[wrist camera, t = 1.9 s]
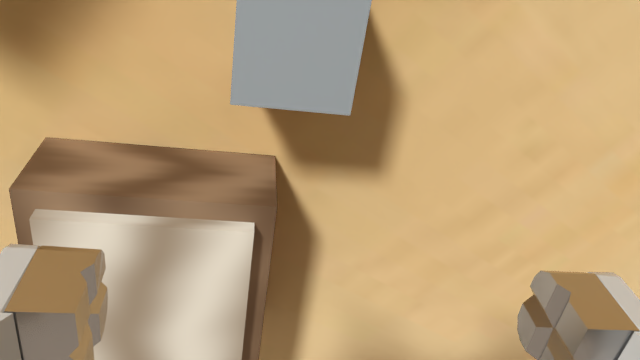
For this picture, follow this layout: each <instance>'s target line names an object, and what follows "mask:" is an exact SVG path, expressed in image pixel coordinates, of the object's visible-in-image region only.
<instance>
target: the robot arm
mask: <svg viewBox="0 0 640 360" xmlns="http://www.w3.org/2000/svg"><path fill="white" fill-rule="evenodd" d="M105 269H106V264H105V255H104V252H103V251H102V250H101V249H87V248H72V247H58V246H43V245H42V246H38V245H22V244H9V245H8V246H6V247H5V248H4V249H3V250H2V251H1V253H0V360H94V350H93V347H94V346H95V345H96V344H97V343H99V342H100V341H101V339H102V335H103V332H104V328H105V323H106V316H107V308H108V291H107V287H106V286H105V285H104V284H103V283H102V282H101V281H102V278H103V275H104V272H105ZM530 287H531V289H532V292H533V294H534V295H533V296H532V297H530V298H529V299H528V300H526V301H525V302H524V303H523V304H522V306H521V309H520V312H519V314H518V328H517V330H518V334H519V338H520V341H521V343H522V345H523V347H524V349H525V351H526V352H528V353H529V354H530V355H532V356H533V357H534V358H535V359H537V360H640V300H639V299H638V297H637V296H636V295H635V294H634V293H633V291H632V290H631V289H630V288H629V287H628V285H627V284H626V283H625V282H624V281H623V279H622V278H621V277H620V276H618V275H616V274H614V273H608V272H588V273H584V272H560V271H540V272H539V273H538V274H537V275H536V276H535V277H534V279H533V281H532V283H531V286H530Z"/></svg>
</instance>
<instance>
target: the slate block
mask: <svg viewBox="0 0 640 360" xmlns="http://www.w3.org/2000/svg"><path fill="white" fill-rule="evenodd" d="M371 1H372V0H237V6H236V21H235V37H234V53H233V69H232V84H231V100H230V105H241V106H252V107H262V108H273V109H284V110H295V111H305V112H316V113H327V114H338V115H349V116H350V114H351V109H352V104H353V98H354V93H355V87H356V82H357V77H358V71H359V66H360V60H361V55H362V50H363V44H364V39H365V34H366V28H367V23H368V17H369V12H370V7H371Z"/></svg>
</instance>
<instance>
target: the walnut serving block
mask: <svg viewBox="0 0 640 360" xmlns="http://www.w3.org/2000/svg"><path fill="white" fill-rule="evenodd" d="M9 192H10V198H11V204H12V210H13V216H14V221H15V227H16V233H17V239H18V244H22V245H38V246H42V245H43V246H58V247H72V248H87V249H101V250H102V251H103V252H104V255H105V264H106V269H105V272H104V275H103V278H102V281H101V282H102V283H103V284H104V285H105V286H106V287H107V291H108V308H107V316H106V323H105V328H104V332H103V335H102V339H101V341H100V342H99V343H97V344H96V345H95V346H94V347H93V350H94V360H258V359H259V351H260V343H261V334H262V326H263V318H264V310H265V302H266V294H267V286H268V277H269V269H270V261H271V253H272V245H273V237H274V229H275V220H276V212H277V191H276V166H275V156H269V155H257V154H244V153H232V152H219V151H207V150H195V149H182V148H170V147H157V146H145V145H133V144H120V143H108V142H95V141H83V140H71V139H58V138H45V139H44V141H43V142H42V143H41V145H40V146H39V148H38V149H37V150H36V152H35V153H34V155H33V156H32V157H31V159H30V160H29V162H28V163H27V164H26V166H25V167H24V169H23V170H22V171H21V173H20V174H19V176H18V177H17V178H16V180H15V181H14V183H13V184H12V185H11V187H10V188H9Z"/></svg>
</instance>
